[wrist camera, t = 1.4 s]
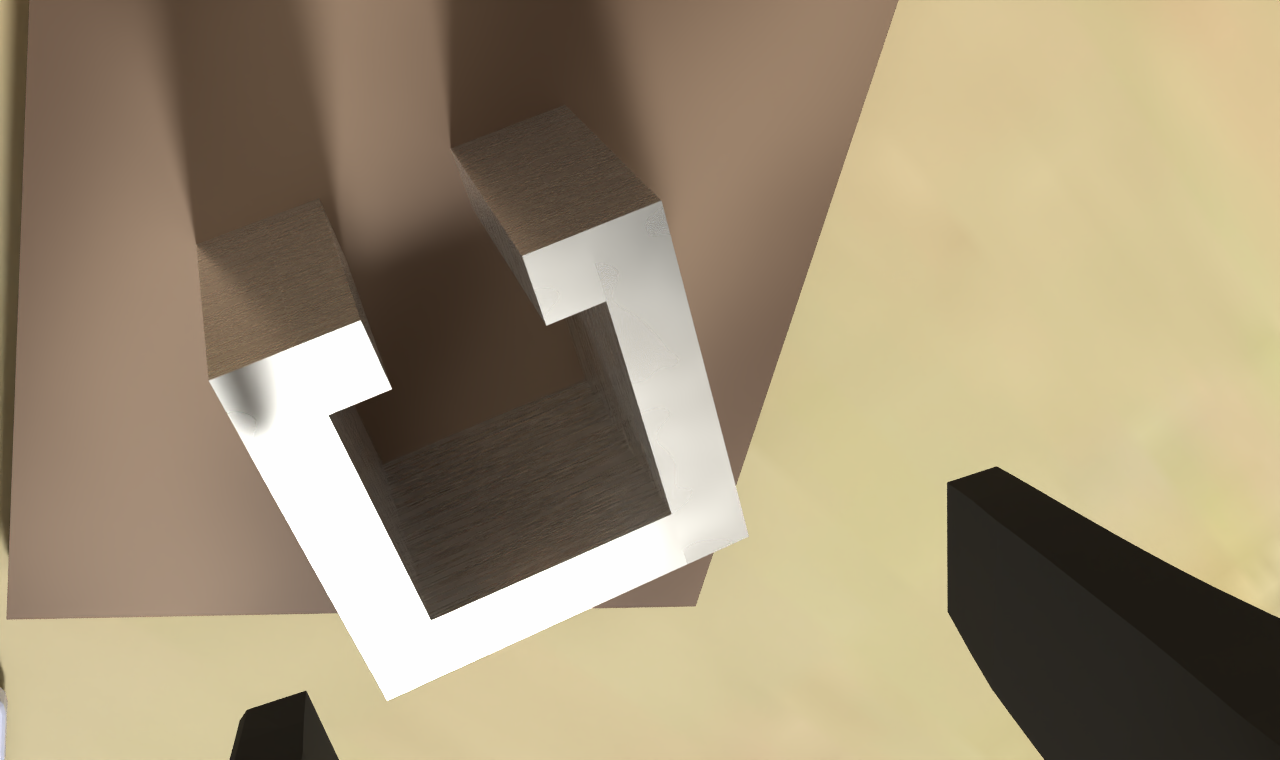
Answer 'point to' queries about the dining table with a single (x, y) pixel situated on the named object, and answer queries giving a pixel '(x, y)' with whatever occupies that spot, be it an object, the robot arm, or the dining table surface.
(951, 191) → the dining table surface
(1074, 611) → the robot arm
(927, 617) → the dining table surface
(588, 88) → the base board
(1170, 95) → the dining table surface
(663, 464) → the grey slotted block
